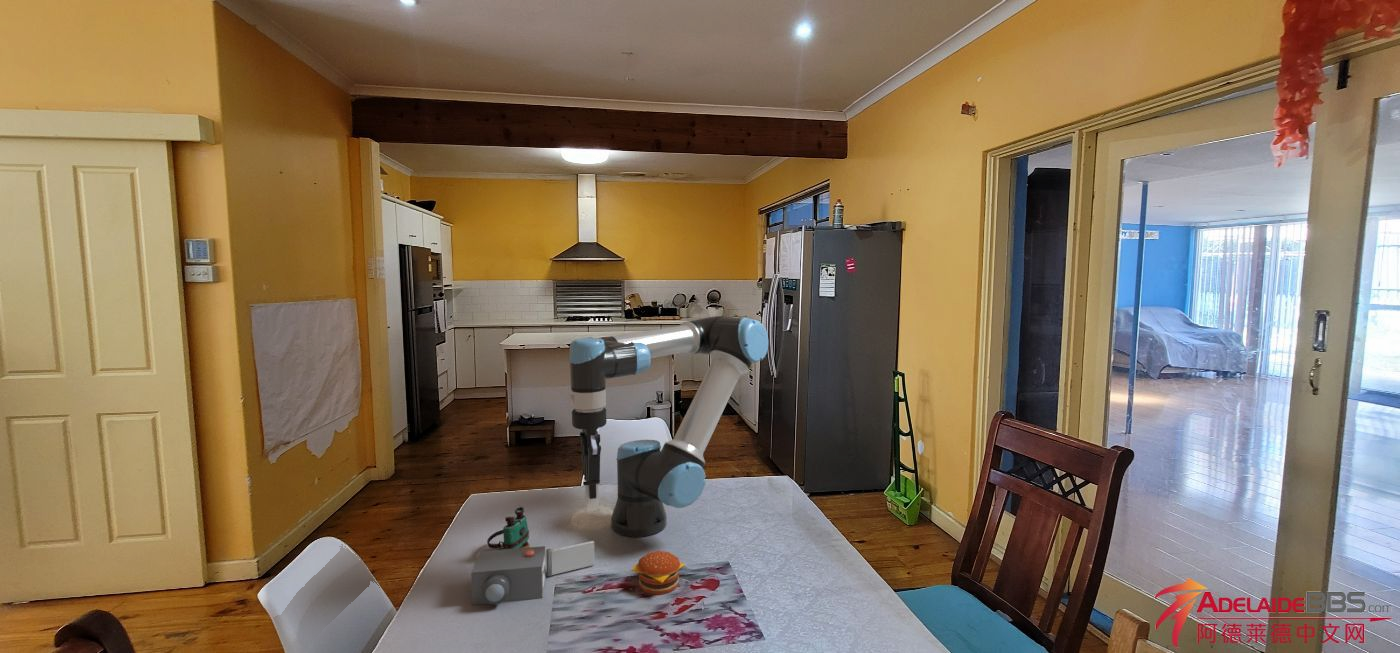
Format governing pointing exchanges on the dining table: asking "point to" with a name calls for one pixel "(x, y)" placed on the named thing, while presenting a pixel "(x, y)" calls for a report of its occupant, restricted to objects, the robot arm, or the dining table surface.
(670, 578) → the hamburger
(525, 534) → the binoculars
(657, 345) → the robot arm
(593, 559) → the side door
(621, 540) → the dining table surface
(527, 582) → the camera body
